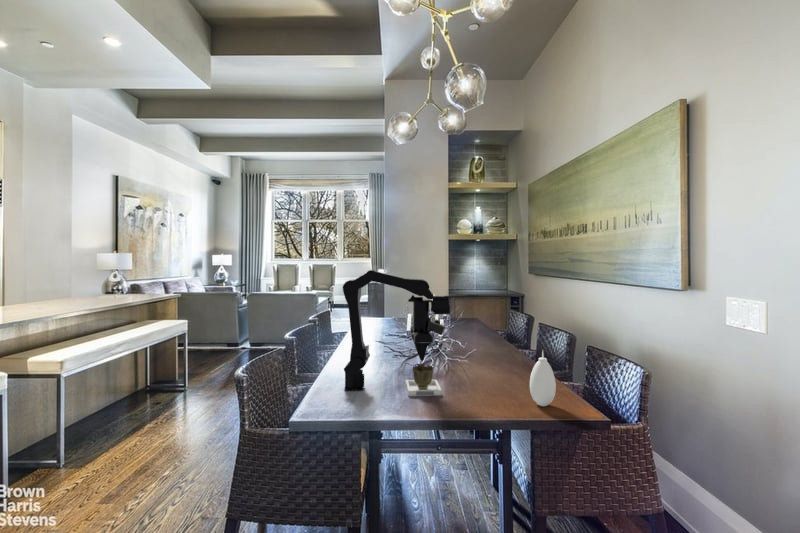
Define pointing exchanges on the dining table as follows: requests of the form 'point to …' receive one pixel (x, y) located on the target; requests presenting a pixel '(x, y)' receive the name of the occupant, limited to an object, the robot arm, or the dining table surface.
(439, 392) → the white tray
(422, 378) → the brown hollow flared piece
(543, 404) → the air blower bulb
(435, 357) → the dining table surface
